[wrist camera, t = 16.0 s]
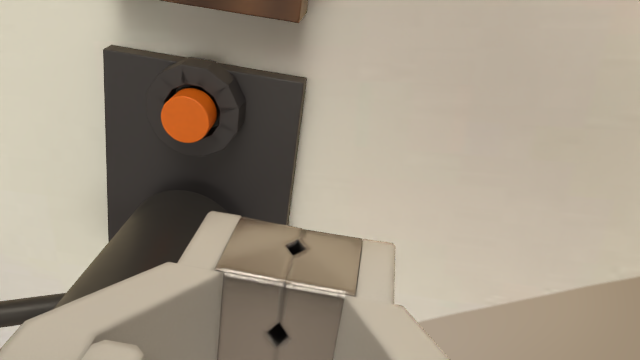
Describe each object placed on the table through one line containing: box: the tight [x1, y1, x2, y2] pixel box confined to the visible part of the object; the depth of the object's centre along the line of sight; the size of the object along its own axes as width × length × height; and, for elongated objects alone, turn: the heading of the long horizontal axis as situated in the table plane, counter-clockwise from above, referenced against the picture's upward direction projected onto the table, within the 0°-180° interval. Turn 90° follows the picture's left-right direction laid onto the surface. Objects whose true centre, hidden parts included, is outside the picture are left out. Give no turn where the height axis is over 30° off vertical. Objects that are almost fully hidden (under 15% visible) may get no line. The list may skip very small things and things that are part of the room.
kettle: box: [0, 190, 229, 327], centre depth 35 cm, size 15×8×15 cm, turn 82°
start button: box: [161, 88, 217, 143], centre depth 37 cm, size 3×3×2 cm
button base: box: [103, 45, 307, 242], centre depth 41 cm, size 16×13×3 cm
